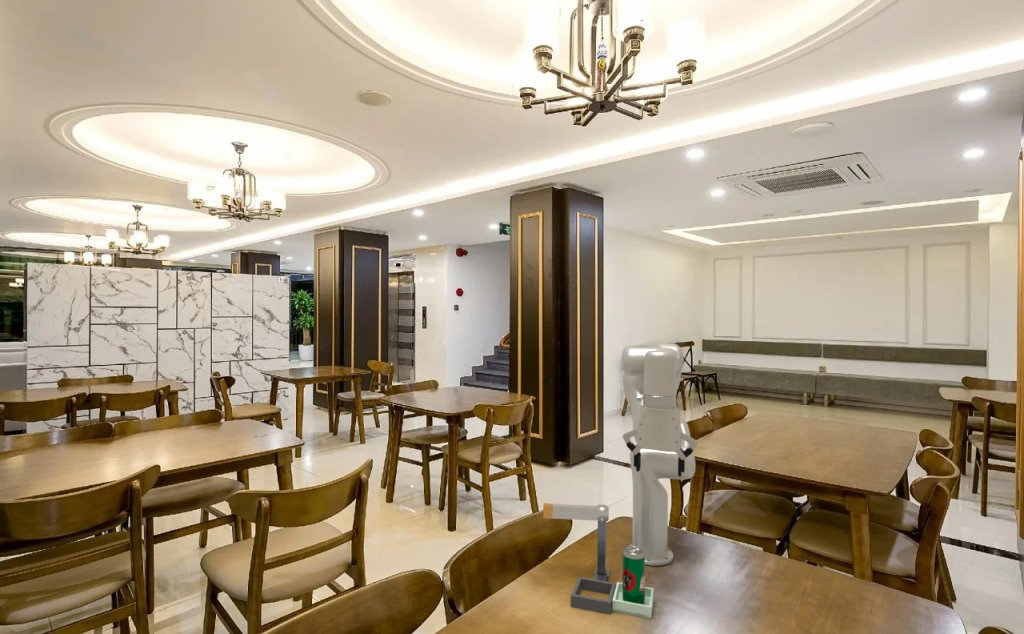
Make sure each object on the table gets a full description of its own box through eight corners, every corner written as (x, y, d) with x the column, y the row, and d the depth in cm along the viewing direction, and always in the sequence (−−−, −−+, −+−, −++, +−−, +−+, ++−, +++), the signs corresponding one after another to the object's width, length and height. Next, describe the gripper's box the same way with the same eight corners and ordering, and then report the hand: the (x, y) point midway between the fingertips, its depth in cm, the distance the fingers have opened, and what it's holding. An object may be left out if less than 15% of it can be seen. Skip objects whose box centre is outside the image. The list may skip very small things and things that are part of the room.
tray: (617, 592, 121) (617, 582, 121) (653, 599, 118) (653, 588, 118) (612, 611, 113) (612, 600, 113) (651, 618, 110) (651, 607, 110)
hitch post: (595, 571, 131) (596, 517, 132) (609, 573, 130) (610, 519, 130) (590, 588, 123) (590, 529, 123) (604, 590, 122) (605, 532, 122)
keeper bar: (607, 517, 131) (608, 505, 131) (609, 522, 128) (609, 509, 128) (543, 514, 132) (543, 501, 133) (543, 518, 129) (543, 506, 129)
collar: (578, 586, 124) (578, 576, 124) (615, 593, 121) (616, 583, 121) (570, 606, 115) (570, 595, 115) (610, 614, 112) (610, 603, 112)
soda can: (645, 609, 113) (645, 556, 113) (622, 606, 114) (622, 553, 114) (644, 597, 118) (644, 546, 118) (622, 594, 119) (622, 544, 119)
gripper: (620, 401, 120) (620, 472, 120) (697, 407, 114) (696, 481, 114) (625, 396, 127) (624, 463, 127) (697, 401, 121) (697, 472, 121)
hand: (658, 472), depth 121 cm, fingers open, 9 cm apart
